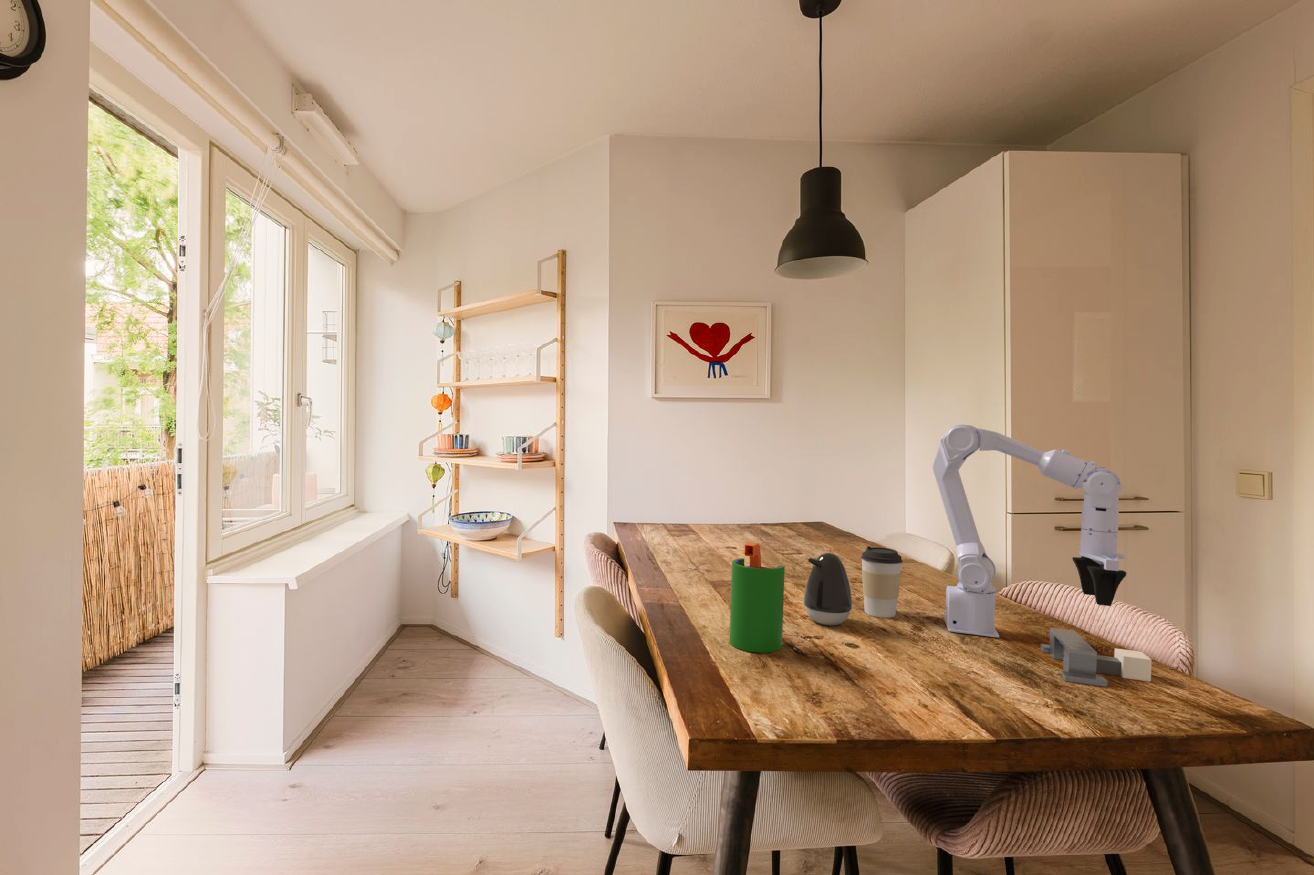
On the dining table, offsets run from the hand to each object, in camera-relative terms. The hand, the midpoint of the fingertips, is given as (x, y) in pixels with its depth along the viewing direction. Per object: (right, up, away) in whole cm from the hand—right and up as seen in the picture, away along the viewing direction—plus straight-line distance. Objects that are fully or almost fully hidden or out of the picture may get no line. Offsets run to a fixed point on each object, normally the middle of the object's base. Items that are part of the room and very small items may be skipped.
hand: (1096, 599), depth 114 cm
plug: (-3, -11, -9) cm, 14 cm away
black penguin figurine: (-48, -9, +15) cm, 51 cm away
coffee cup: (-34, -9, +22) cm, 41 cm away
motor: (-66, -9, 0) cm, 67 cm away
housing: (-10, -10, -7) cm, 16 cm away
